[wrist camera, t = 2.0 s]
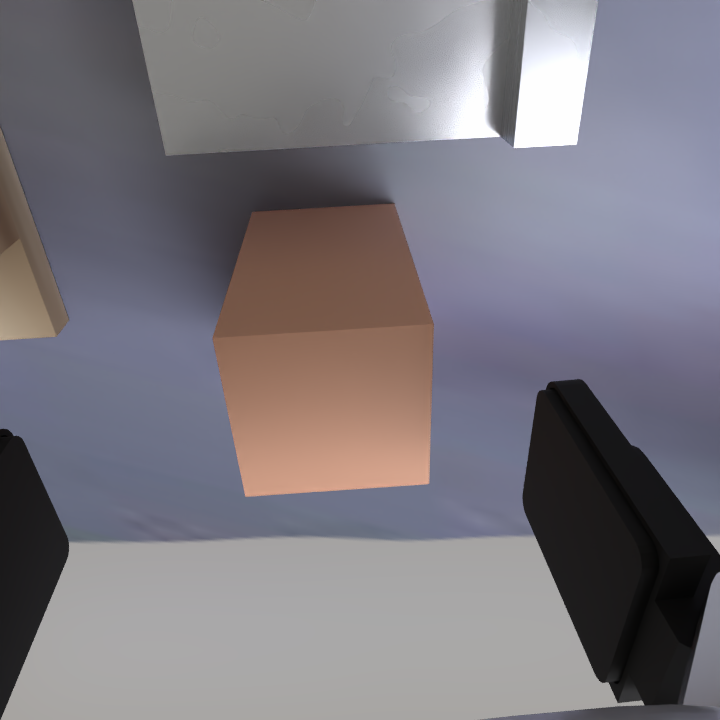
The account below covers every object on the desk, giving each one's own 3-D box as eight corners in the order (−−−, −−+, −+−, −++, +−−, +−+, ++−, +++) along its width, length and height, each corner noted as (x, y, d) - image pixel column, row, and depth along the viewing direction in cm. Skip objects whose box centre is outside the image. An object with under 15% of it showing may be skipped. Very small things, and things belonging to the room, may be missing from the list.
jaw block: (394, 203, 16) (433, 323, 11) (395, 326, 19) (429, 484, 13) (252, 211, 16) (212, 338, 10) (270, 334, 19) (245, 496, 13)
